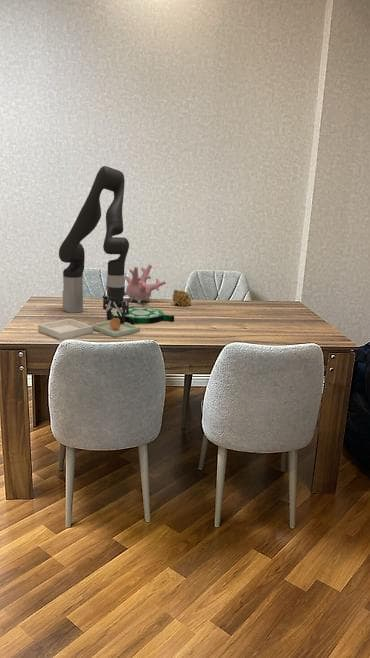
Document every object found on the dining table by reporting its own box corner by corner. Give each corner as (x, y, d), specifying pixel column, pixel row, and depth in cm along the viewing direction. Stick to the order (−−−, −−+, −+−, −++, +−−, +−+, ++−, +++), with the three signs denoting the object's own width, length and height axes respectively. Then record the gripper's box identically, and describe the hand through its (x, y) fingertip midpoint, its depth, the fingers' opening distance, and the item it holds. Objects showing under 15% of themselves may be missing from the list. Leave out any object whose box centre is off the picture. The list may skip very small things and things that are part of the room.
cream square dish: (38, 331, 206) (38, 324, 205) (70, 324, 217) (70, 318, 216) (60, 340, 195) (60, 333, 195) (92, 333, 207) (92, 326, 206)
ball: (107, 328, 212) (107, 317, 210) (116, 326, 215) (116, 315, 214) (114, 331, 209) (114, 320, 207) (123, 329, 212) (123, 318, 211)
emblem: (121, 304, 247) (179, 310, 242) (121, 310, 248) (179, 316, 243) (104, 316, 223) (167, 322, 218) (103, 323, 224) (167, 329, 219)
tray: (91, 329, 212) (91, 324, 212) (116, 323, 222) (116, 319, 222) (115, 337, 202) (115, 333, 202) (140, 331, 212) (140, 327, 212)
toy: (136, 296, 280) (136, 261, 275) (165, 302, 269) (167, 266, 263) (114, 301, 265) (114, 264, 260) (144, 307, 254) (145, 269, 248)
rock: (177, 311, 270) (176, 293, 272) (193, 309, 269) (192, 292, 271) (173, 306, 259) (172, 288, 261) (189, 304, 257) (187, 286, 259)
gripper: (133, 286, 205) (133, 324, 209) (111, 281, 214) (111, 317, 218) (120, 288, 199) (119, 327, 204) (98, 283, 208) (98, 320, 213)
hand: (115, 321), depth 211 cm, fingers open, 8 cm apart
